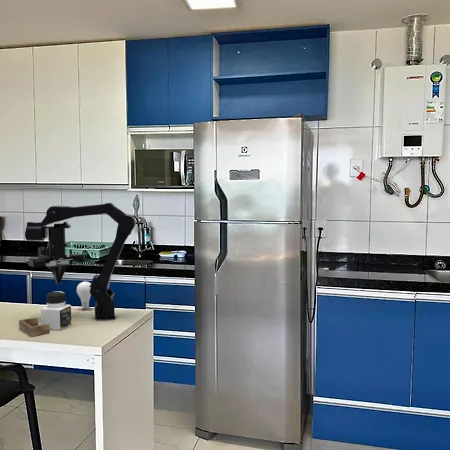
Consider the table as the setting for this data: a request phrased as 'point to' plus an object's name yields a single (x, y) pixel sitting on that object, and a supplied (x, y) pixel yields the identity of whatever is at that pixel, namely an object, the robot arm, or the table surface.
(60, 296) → the medicine bottle
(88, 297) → the lightbulb
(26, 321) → the corral
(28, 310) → the table surface
